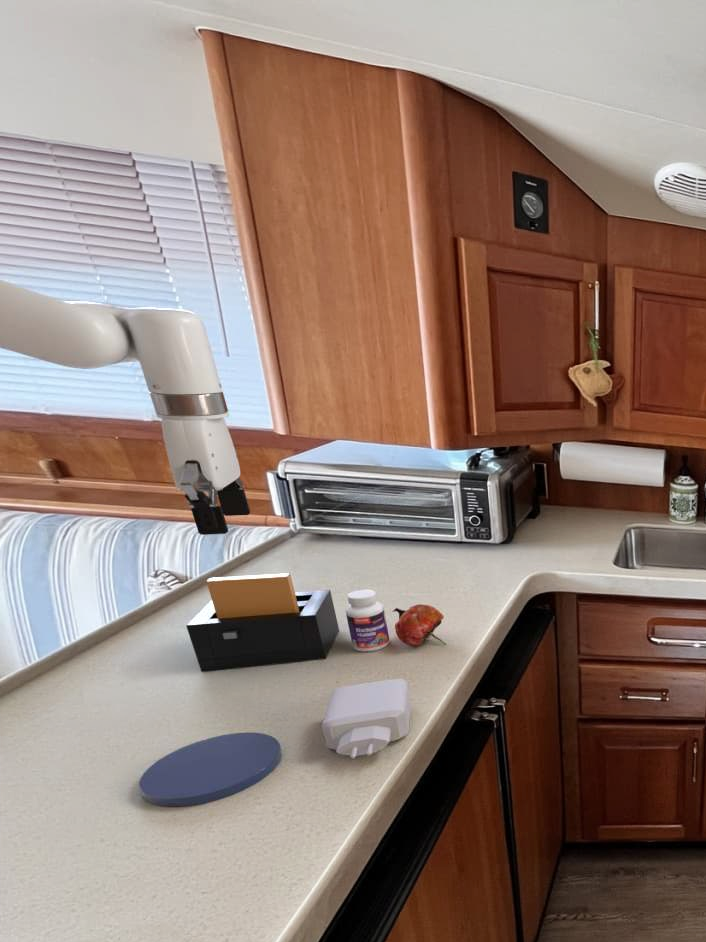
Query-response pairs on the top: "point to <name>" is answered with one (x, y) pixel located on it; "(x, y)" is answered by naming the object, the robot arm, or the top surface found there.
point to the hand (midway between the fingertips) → (226, 523)
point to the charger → (367, 716)
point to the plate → (210, 769)
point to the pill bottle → (366, 621)
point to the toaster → (265, 635)
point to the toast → (253, 595)
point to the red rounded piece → (417, 624)
